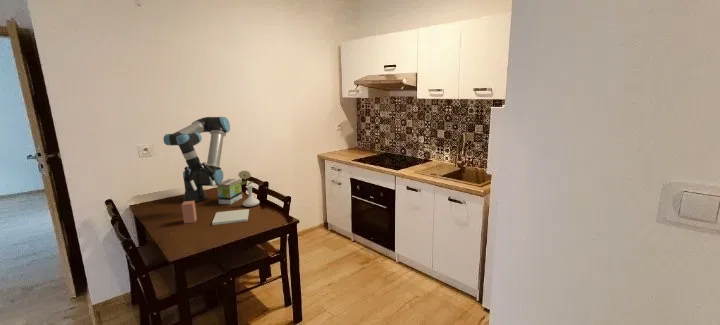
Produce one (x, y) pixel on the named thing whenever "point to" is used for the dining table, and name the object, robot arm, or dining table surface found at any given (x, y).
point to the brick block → (189, 212)
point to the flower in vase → (250, 200)
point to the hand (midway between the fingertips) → (204, 187)
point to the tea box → (229, 191)
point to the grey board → (231, 217)
